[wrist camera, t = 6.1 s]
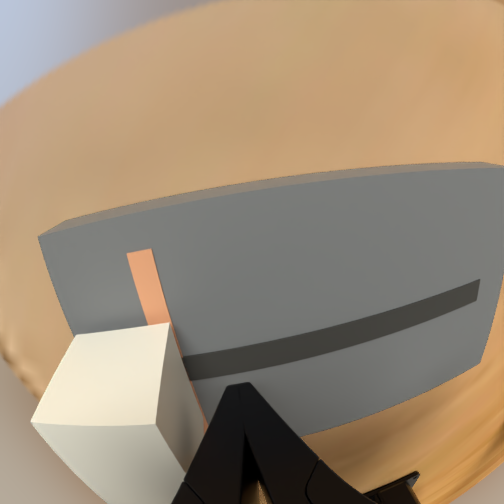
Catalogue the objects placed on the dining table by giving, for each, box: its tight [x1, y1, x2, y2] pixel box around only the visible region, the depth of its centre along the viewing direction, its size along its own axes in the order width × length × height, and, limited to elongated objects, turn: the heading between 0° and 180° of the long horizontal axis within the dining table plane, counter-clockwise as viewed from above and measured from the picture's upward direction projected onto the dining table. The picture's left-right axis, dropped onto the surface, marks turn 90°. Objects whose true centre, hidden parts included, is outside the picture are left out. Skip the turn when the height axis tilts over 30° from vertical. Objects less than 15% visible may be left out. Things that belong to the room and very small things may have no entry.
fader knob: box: [31, 322, 204, 504], centre depth 7 cm, size 4×3×4 cm
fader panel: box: [38, 162, 504, 437], centre depth 10 cm, size 10×17×2 cm, turn 98°
